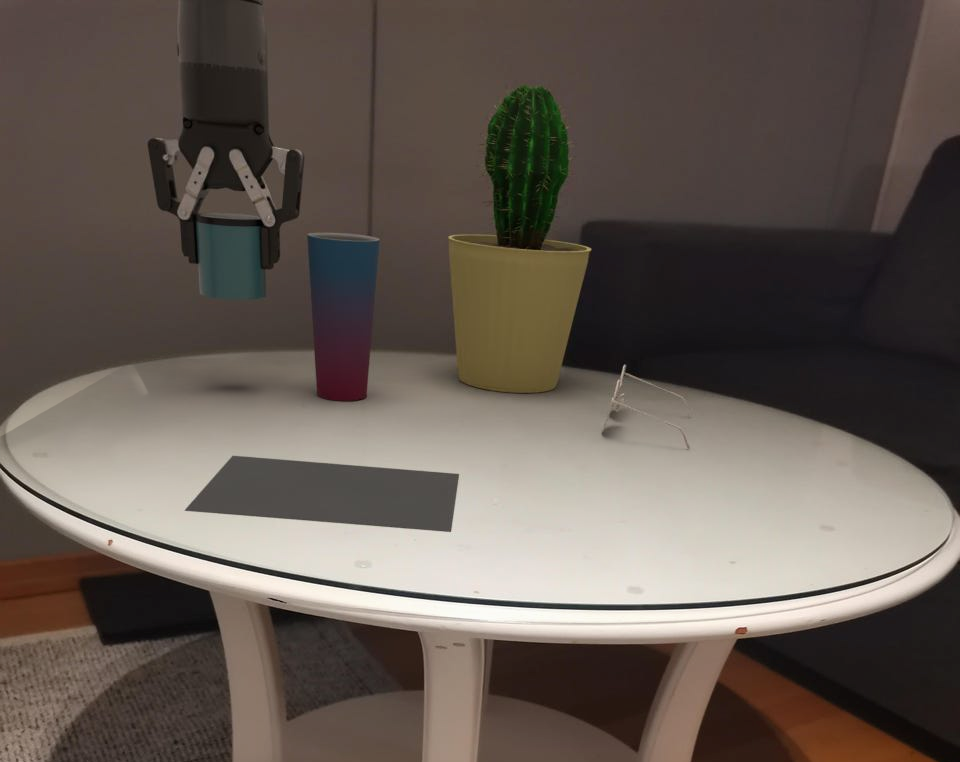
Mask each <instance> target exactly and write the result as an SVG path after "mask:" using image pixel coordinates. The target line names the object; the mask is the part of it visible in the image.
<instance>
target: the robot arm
mask: <svg viewBox="0 0 960 762" xmlns="http://www.w3.org/2000/svg"><path fill="white" fill-rule="evenodd" d="M263 5H264V0H178V9H177V21H176V23H177V25H176V29H177V30H176V31H177V42H176V52H177V53H176V54H177V57H178V68H179V83H180V85H179V86H180V102H181V120H182V129H181V132H180V134H179V137H178V138H171V139H170V138H169V139H165V138H161V137H153V138H150V139H148V142H147V151H148V156H149V162H150V168H151V174H152V180H153V186H154V192H155V198H156V203H157V207H158V208H159V209H160V210H161V211H162V212H167V213H170V214H172V215H173V216H175V217H176V218H177V219H178V221H179V226H180V227H179V228H180V229H179V230H180V243H181V252H182V255H183V257H187V259H188V263H189V264H192V265H193V264H194V265H198V251H197V234H196V221H195V214H197V213H200V210H201V207H202V205H203V203H204V201H205V199H206V198H207V196H208V195H209V192H210V191H211V190H220V189H221V190H222V189H229V190H231V191H235V192H246V193H247V195H248V198H249V200H250V201H251V203H252V204H253V206H254V207H255V209H256V211H257V213H258V216H259V217H261V219H262V221H263V223H264V226H263V227H261V256H262V269H265V270H269V271H270V270H272V269H274V267H275V264H277V263H279V261H280V258H281V239H280V238H281V226H282V225H283V224H284V223H287V222H291V221H293V220H296V219H297V218H299V216H300V211H301V200H302V192H303V191H302V189H303V178H304V168H305V167H304V166H305V153H304V152H303V151H302V150H301V149H287V148H282V147H278V146H275V145H274V143H273V141H272V138H271V136H270V127H269V123H270V121H269V81H268V79H269V78H268V77H269V75H268V71H269V70H268V40H267V39H268V38H267V37H268V36H267V29H266V28H267V27H266V22H265V21H266V20H265V14H264V13H265V12H264V6H263ZM179 153H181V155H182V156H183V157H184V158H185V160H186V161H187V164H188V165H189V166H190V168H191V169H192V172H191V175H190V177H189V179H188V181H187V184H186V185H185V188H184V194H183V196H182V199H180V198H179V197H178V192H177V186H176V180H175V174H174V167H173V165H175V164H177V162H178V155H179ZM273 160H275V161H276V164H277V170H278V171H279V173H280V174H282V175H284V178H283V191H282V202H281V208H277V206H276V204H275V202H274V200H273V198H272V193H271V191H270V189H269V187H268V185H267V183H266V181H265V179H264V177H263V175H264V173H265V172H266V170H267V169H268V167H269V166H270V164H271V162H272V161H273Z"/></svg>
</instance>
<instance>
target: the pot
mask: <svg viewBox="0 0 960 762" xmlns="http://www.w3.org/2000/svg"><path fill="white" fill-rule="evenodd" d="M195 221H196V234H197V251H198V264H197V265H198V282H199V284H198V285H199V294H200V295H201V296H204V297H208V298H212V299H219V300H230V301H231V300H233V301H249V300H250V301H251V300H260V299H264V298H266V297H267V283H266V282H267V281H266V279H267V277H266V269H262V256H261V227H263V226H264V223H263V221H262V219H261V217H260V215H252V214H243V213H230V212H198V213H197V214H195Z"/></svg>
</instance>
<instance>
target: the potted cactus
mask: <svg viewBox="0 0 960 762" xmlns="http://www.w3.org/2000/svg"><path fill="white" fill-rule="evenodd" d="M548 82H550V79H549V81H548ZM516 83H518V81H517V79H516ZM516 83H513V86H514V87H513V88H514V91H512V92H511V93H510V92H509V89H508V87H507V86H506V85H505V88H506V92H507V95H508V96H506V97H504V98H502V97H501V95H500V94H498V96H497V99H498V101H499V103H500V105H499V106H498V107H497V106H496V105H495V104H494V103H492V105H494V107H495V108H497V109H496V112H495V113H494V114H493V113H492V112H490V111H488V110H487V111H488V113H489V115H491V118H490V117H489V115H488V114H486V115H487V116H486V115H485V118H486V119H485V118H484V121H485V122H486V123H487V124H488V125H487V132H485V131H483V133H479V132H478V134H479V135H480V136H482V137H483V138H486V139H485V141H484V143H479V145H481V146H482V149H485V150H478V152H479V153H480V152H481V154H482V155H481V154H480V155H478V157H484V162H483V163H479V164H477V165H476V168H479V167H482V166H483V168H481V169H479V171H482V170H483V171H484V172H483V173H482V174H481V175H480V177H483V178H485V179H487V178H488V180H490V181H491V182H490V183H489V186H487V189H488V190H490V188H491V187H492V189H493V190H492V199H491V200H489V201H484V202H481V203H485V204H487V203H489V204H488V205H485V207H486V208H487V207H488V206H491V205H492V203H493V208H492V209H493V218H489V219H488V220H494V222H491V223H490V224H489V225H493V224H494V227H495V228H494V229H492V230H491V231H490V232H487V234H453V235H449V236H448V237H447V238H448V257H449V258H448V259H449V267H450V268H449V271H450V281H451V295H452V309H453V323H454V325H453V326H454V336H455V337H454V339H455V350H456V353H455V354H456V365H457V366H456V367H457V374H458V375H457V376H458V380H459V381H461V382H462V383H463V384H466V385H468V386H472V387H474V388H479V389H483V390H487V391H493V392H501V393H512V394H513V393H516V394H517V393H519V394H531V393H532V394H535V393H544V392H548V391H552V390H554V389H556V388H557V385H558V382H559V377H560V374H561V369H562V365H563V361H564V358H565V353H566V349H567V345H568V341H569V337H570V333H571V330H572V326H573V321H574V318H575V317H574V316H575V314H576V309H577V306H578V302H579V298H580V294H581V290H582V287H583V282H584V279H585V275H586V271H587V267H588V263H589V258H590V253H591V252H592V248H591V247H589V246H586V245H582V244H577V243H572V242H566V241H558V240H552V239H548V238H547V236H549V234H548V233H549V232H550V233H551V234H553V235H554V236H555V237H557V235H556V234H554V233H555V232H556V233H557V231H555V229H553V228H551V226H553V227H556V228H557V226H555V225H554V224H553V222H557V223H560V224H561V222H558V221H557V220H556V219H554V218H560V217H559V216H556V215H555V214H556V213H557V211H556V209H558V208H559V209H562V207H561V206H560V205H558V201H559V198H561V197H564V196H563V195H566V197H567V198H569V196H568V195H567V194H566V193H567V189H566V188H565V187H564V186H563V185H564V183H565V182H568V180H567V179H569V180H570V181H572V182H574V180H573V177H571V176H570V175H572V176H574V173H573V172H571V173H570V172H569V171H570V169H569V163H570V162H571V161H572V160H573V159H574V158H576V157H577V155H575V156H573V157H570V158H569V153H570V150H569V148H573V147H576V146H577V144H575V143H573V142H574V141H575V142H576V139H574V140H572V141H569V140H568V139H569V137H568V133H569V132H570V131H569V130H567V129H568V128H570V126H572V125H573V123H570V125H567V127H566V124H565V122H564V121H563V120H562V119H563V118H565V117H567V116H569V115H573V114H574V113H570V114H569V113H565V114H562V112H564V111H566V110H567V108H563V104H560V105H559V104H558V103H557V102H556V100H557V99H558V97H555V99H554V93H555V91H556V90H553V91H551V89H552V88H553V86H550V84H547V86H546V87H547V88H544V86H542V85H539V86H538V85H537V83H535V84H536V87H535V85H532V87H530V86H529V85H527V84H523V85H520V87H517V85H516ZM562 108H563V109H562ZM567 119H568V118H567ZM567 119H566V120H567ZM484 134H485V135H487V136H485V135H484ZM571 143H573V144H571ZM569 144H570V145H569ZM477 147H478V148H480V146H477ZM484 153H485V154H484ZM483 154H484V155H483ZM484 182H485V183H486V182H487V180H485V181H484ZM568 185H570V183H568ZM560 191H562V192H563V193H562V192H560ZM565 192H566V193H565ZM559 195H560V196H561V197H559ZM494 230H496V231H495V232H496V235H495V234H494V235H493V234H491V233H492V232H494ZM553 232H554V233H553ZM488 233H490V234H488Z"/></svg>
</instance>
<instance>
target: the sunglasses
mask: <svg viewBox="0 0 960 762" xmlns="http://www.w3.org/2000/svg"><path fill="white" fill-rule="evenodd" d="M626 368H627V364H624V365H623V366H622V369H621V374H620V376H619V379H618V380H617V381H616V386H615V389H614V392H613V395H612V398H611V400H610V405H609V408H608V412H607V415H606V418H605V420H604V425H603V427H602V430H601V433H604V431H605V429H606V426H607V423H608V420H609V417H610V416H611V413H612V411H613V408H614V407H615V409H614V411H615V412H616V413H619V412H620V411H621V409H622V408H624V409H627V410H631V411H634V412H636V413H639V414H641V415H644V416H647V417H648V418H652V419H654V420H657V421H660V422H663V423H664V424H665V425H666V424H667V425H669V426H670V427H671V426H672V427H674V428H675V429H678V430H679V431H680V432H681V434H682V436H683V441H684V443H685V446H686V449H687V450H691V446H690V445H689V442H688V438H687V436H686V434H685V432H684V430H683V429H682V428H681V427H680V426H678V425H676V424H674V423H671V422H669V421H666V420H663V419H660V418H658V417H655V416H653V415H650V414H648V413H645V412H643V411H640V410H639V409H635V408H633V407H631V406H628V405H626V404H624V402H625V400H626V393H621V394H619V391H620V388H621V387H622V386H623V383H622V382H623V379H624V376H627V377H630V378H632V379H634V380H637V381H640V382H641V383H644V384H647V385H650V386H653V387H655V388H658V389H660V390H663V391H666V392H668V394H670V395H674V396H676V397H678V398H680V399H681V400H682V401H683V403H684V405H685V408H686V412H687V415H688V417H689V419H691V418H693V416H692V415H691V412H690V409H689V406H688V403H687V401H686V399H685V398H684V397H683V396H682V395H680V394H678V393H676V392H673V391H670V390H667V389H664V388H662V387H660V386H657V385H655V384H653V383H650V382H648V381H646V380H644V379H641V378H639V377H637V376H634V375H632V374H630V373H627V372H626Z"/></svg>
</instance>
